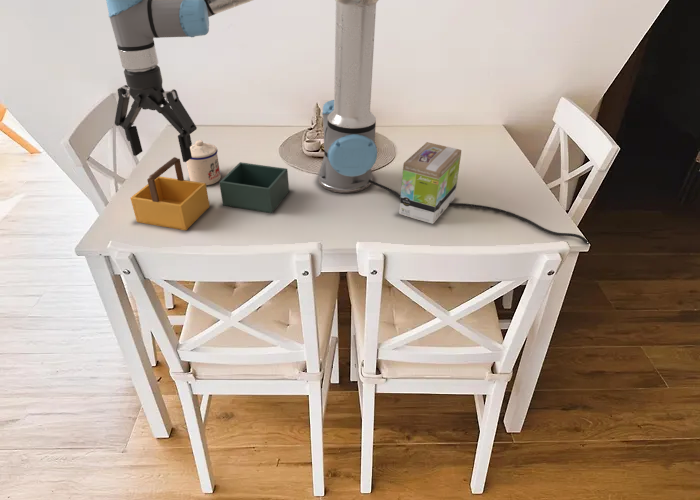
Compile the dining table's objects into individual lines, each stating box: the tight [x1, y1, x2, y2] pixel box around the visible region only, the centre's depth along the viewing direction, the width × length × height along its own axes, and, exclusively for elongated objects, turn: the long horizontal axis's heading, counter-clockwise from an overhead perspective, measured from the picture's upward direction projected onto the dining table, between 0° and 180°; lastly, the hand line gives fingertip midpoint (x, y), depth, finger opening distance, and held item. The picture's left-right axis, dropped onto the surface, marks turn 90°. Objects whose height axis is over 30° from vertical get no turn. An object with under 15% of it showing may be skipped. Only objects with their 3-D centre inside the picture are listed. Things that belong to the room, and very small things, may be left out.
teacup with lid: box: [186, 139, 222, 186], centre depth 152 cm, size 12×9×12 cm
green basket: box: [218, 161, 290, 214], centre depth 143 cm, size 14×12×7 cm
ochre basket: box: [130, 156, 211, 231], centre depth 135 cm, size 14×12×14 cm
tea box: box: [398, 141, 462, 225], centre depth 137 cm, size 15×10×15 cm
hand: (162, 156), depth 129 cm, fingers open, 13 cm apart
